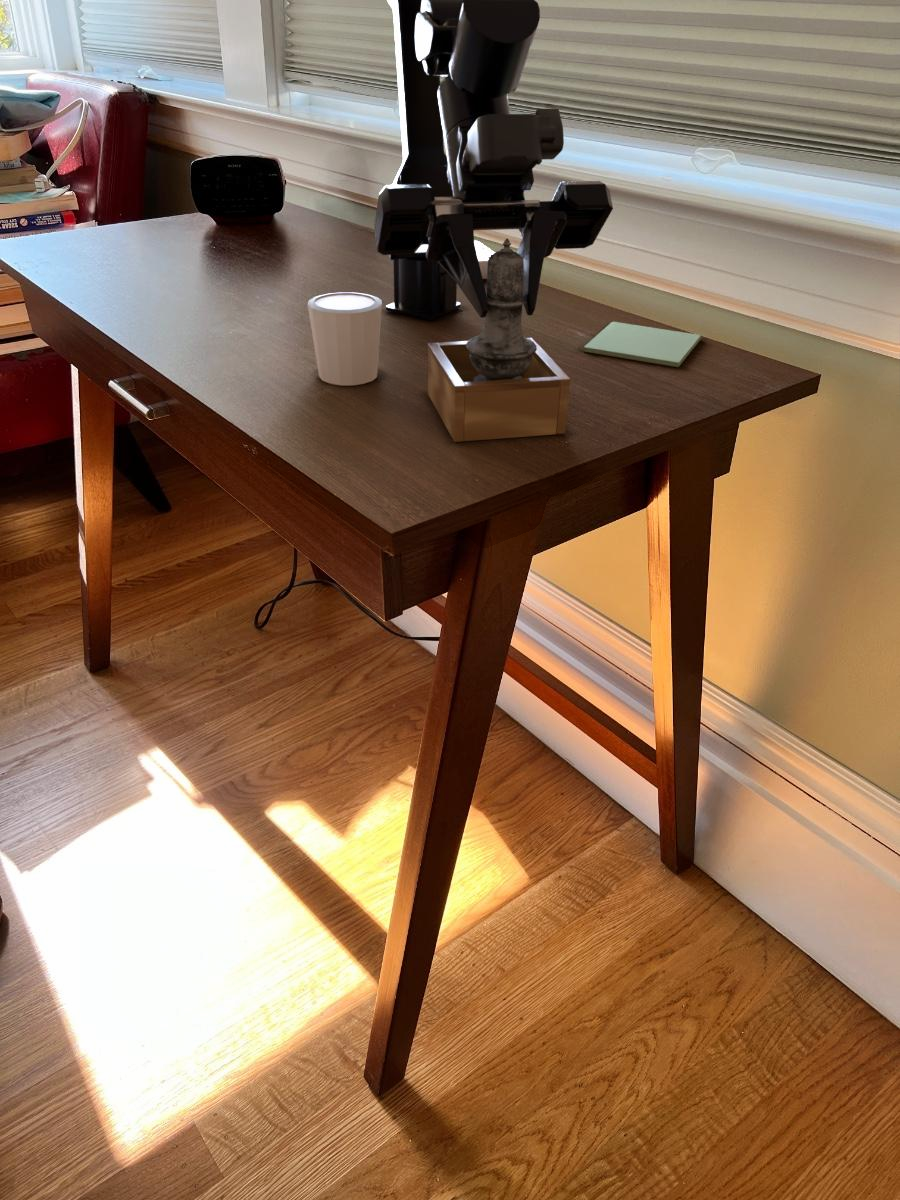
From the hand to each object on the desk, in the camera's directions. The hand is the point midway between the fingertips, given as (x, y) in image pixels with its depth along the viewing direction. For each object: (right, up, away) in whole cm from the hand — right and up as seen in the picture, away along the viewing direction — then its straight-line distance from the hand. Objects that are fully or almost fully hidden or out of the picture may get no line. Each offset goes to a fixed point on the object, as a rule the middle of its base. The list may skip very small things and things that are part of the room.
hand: (507, 314), depth 72 cm
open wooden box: (-1, -6, +8) cm, 10 cm away
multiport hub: (-1, +22, +49) cm, 54 cm away
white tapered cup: (-14, -1, +15) cm, 21 cm away
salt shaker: (0, -5, +5) cm, 7 cm away
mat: (+16, +4, +24) cm, 29 cm away
